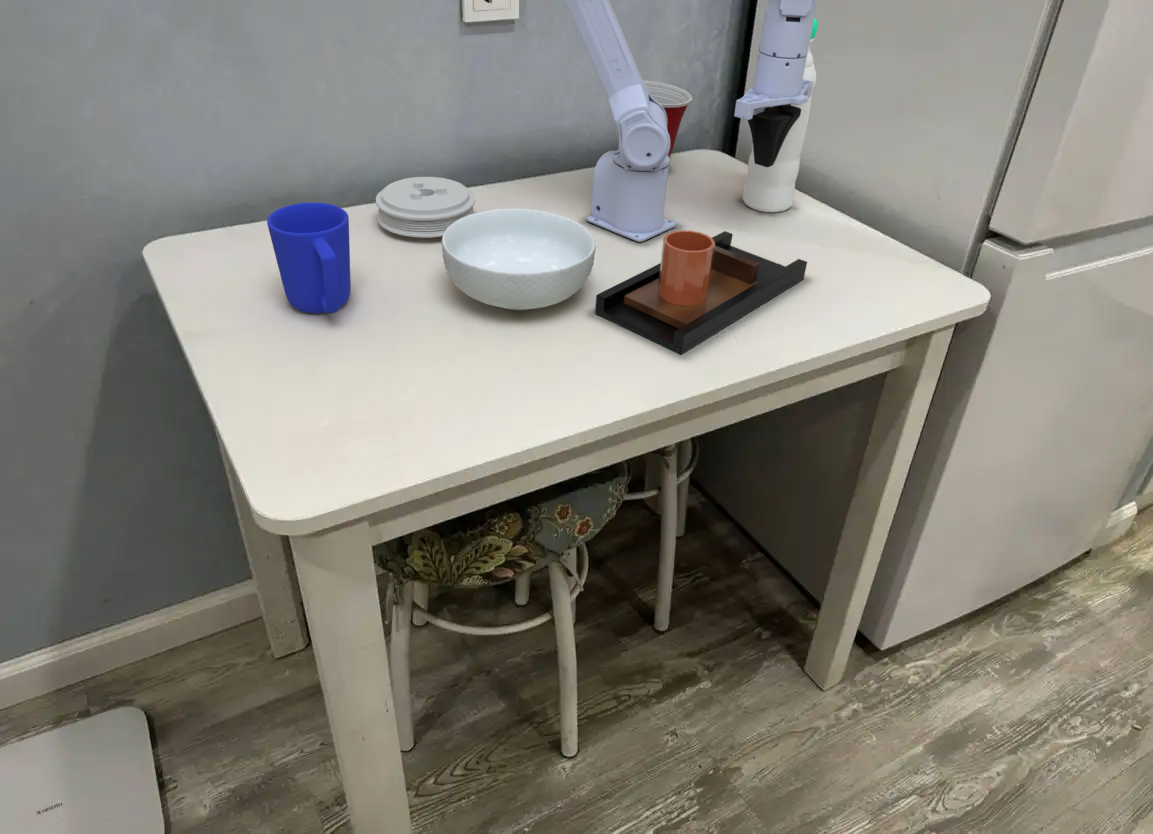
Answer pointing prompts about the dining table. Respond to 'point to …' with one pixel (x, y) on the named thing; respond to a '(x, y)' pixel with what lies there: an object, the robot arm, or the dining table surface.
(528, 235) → the cereal bowl
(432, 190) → the lid
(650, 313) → the slide
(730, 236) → the slide rail
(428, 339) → the dining table surface
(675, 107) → the plastic cup
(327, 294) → the mug
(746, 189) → the water bottle
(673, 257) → the cup
